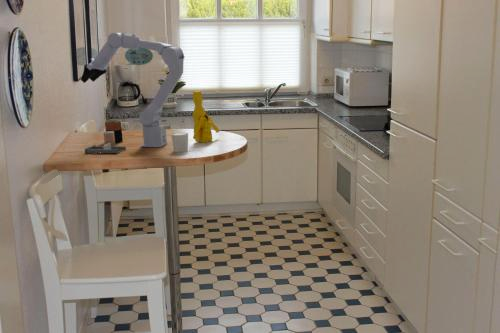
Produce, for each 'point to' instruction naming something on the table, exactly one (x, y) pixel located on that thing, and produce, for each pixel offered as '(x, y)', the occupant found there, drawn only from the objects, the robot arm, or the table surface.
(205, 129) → the figure statuette
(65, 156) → the table surface
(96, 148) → the frame
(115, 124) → the battery
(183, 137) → the beige cylinder
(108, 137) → the jar
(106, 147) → the pusher plate
